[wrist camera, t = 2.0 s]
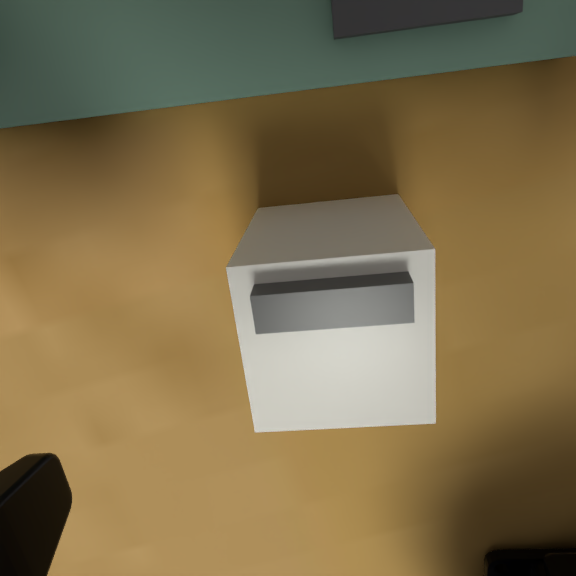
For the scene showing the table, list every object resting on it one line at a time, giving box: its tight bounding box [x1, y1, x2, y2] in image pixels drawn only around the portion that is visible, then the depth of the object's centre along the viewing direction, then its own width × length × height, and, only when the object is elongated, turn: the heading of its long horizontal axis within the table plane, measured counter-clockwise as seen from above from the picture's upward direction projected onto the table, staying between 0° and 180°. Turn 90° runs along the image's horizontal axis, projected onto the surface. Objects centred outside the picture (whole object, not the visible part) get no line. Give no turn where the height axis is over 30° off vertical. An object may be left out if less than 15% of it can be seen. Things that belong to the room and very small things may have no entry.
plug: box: [226, 194, 436, 432], centre depth 12 cm, size 4×4×6 cm
